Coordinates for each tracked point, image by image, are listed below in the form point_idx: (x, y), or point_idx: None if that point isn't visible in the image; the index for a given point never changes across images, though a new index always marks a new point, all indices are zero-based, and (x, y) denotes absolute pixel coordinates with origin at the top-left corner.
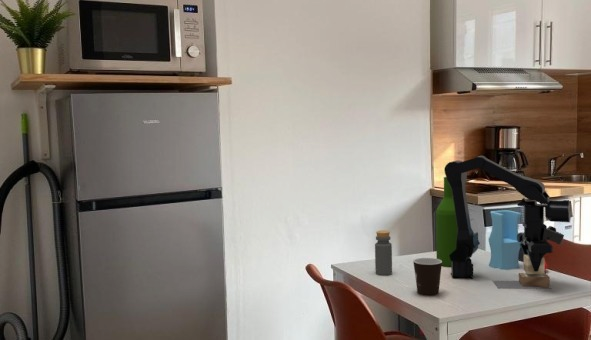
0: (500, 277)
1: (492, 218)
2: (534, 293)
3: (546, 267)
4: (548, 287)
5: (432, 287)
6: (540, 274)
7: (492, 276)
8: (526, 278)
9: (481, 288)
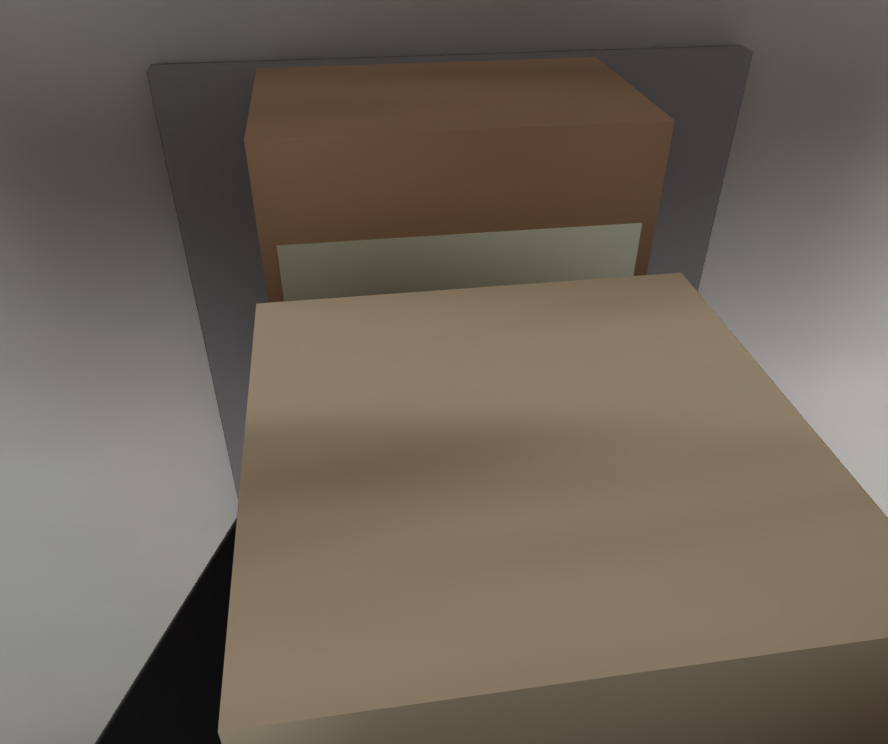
0: (25, 630)
1: None
2: (822, 342)
3: None
4: (641, 93)
5: None
6: (410, 277)
7: (5, 695)
8: None
9: None
